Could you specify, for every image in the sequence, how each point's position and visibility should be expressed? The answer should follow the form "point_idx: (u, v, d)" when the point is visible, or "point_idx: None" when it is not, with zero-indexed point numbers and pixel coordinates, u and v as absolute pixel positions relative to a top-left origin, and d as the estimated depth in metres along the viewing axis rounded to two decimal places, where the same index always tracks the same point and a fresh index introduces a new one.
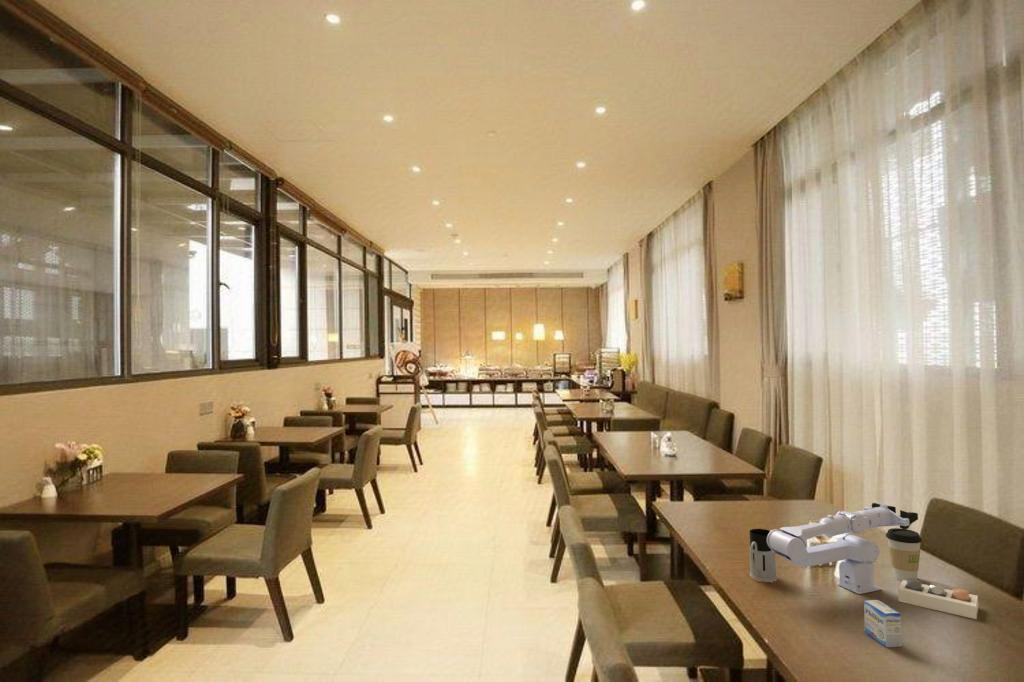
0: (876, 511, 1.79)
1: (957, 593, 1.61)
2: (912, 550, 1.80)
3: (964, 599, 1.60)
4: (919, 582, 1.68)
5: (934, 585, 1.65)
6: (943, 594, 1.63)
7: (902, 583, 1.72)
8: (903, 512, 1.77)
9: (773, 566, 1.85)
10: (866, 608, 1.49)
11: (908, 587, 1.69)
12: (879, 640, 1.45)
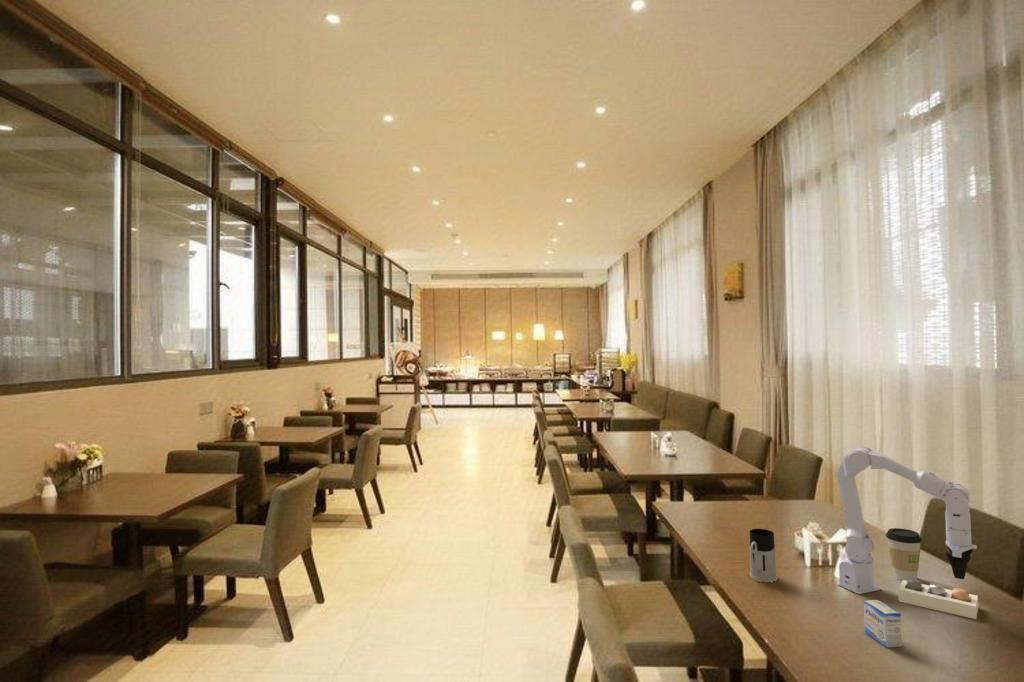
0: (968, 530, 1.59)
1: (957, 593, 1.61)
2: (912, 550, 1.80)
3: (964, 599, 1.60)
4: (919, 582, 1.68)
5: (934, 585, 1.65)
6: (943, 594, 1.63)
7: (902, 583, 1.72)
8: (968, 557, 1.57)
9: (773, 566, 1.85)
10: (866, 608, 1.49)
11: (908, 587, 1.69)
12: (879, 640, 1.45)
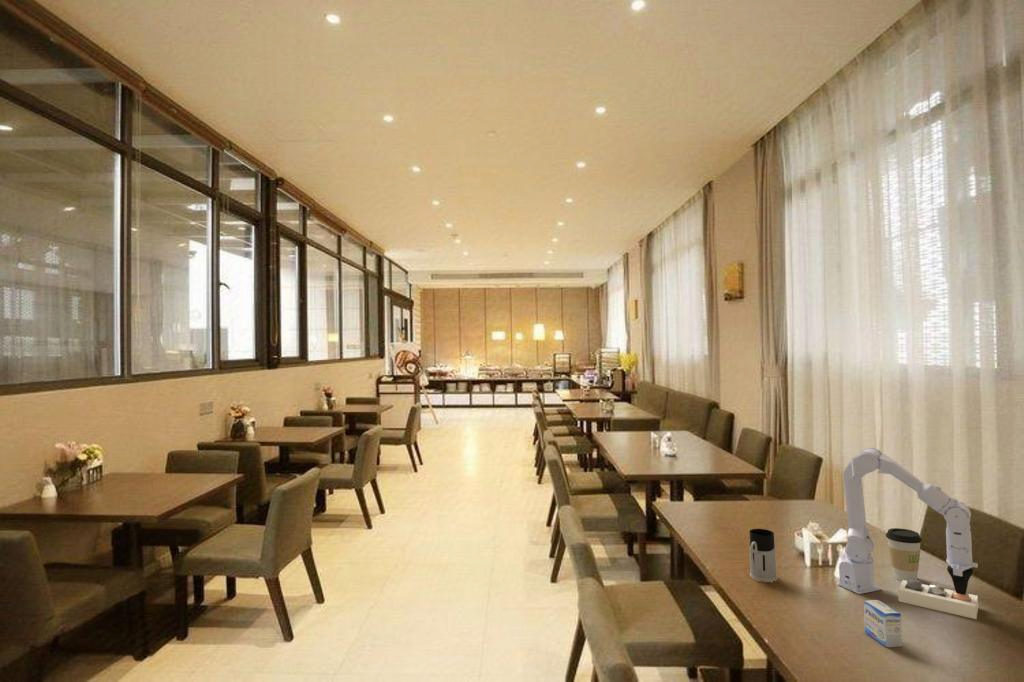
0: (969, 549, 1.59)
1: (957, 596, 1.61)
2: (912, 550, 1.80)
3: None
4: (919, 582, 1.68)
5: (934, 585, 1.65)
6: (943, 594, 1.63)
7: (902, 583, 1.72)
8: (970, 573, 1.59)
9: (773, 566, 1.85)
10: (866, 608, 1.49)
11: (908, 587, 1.69)
12: (879, 640, 1.45)
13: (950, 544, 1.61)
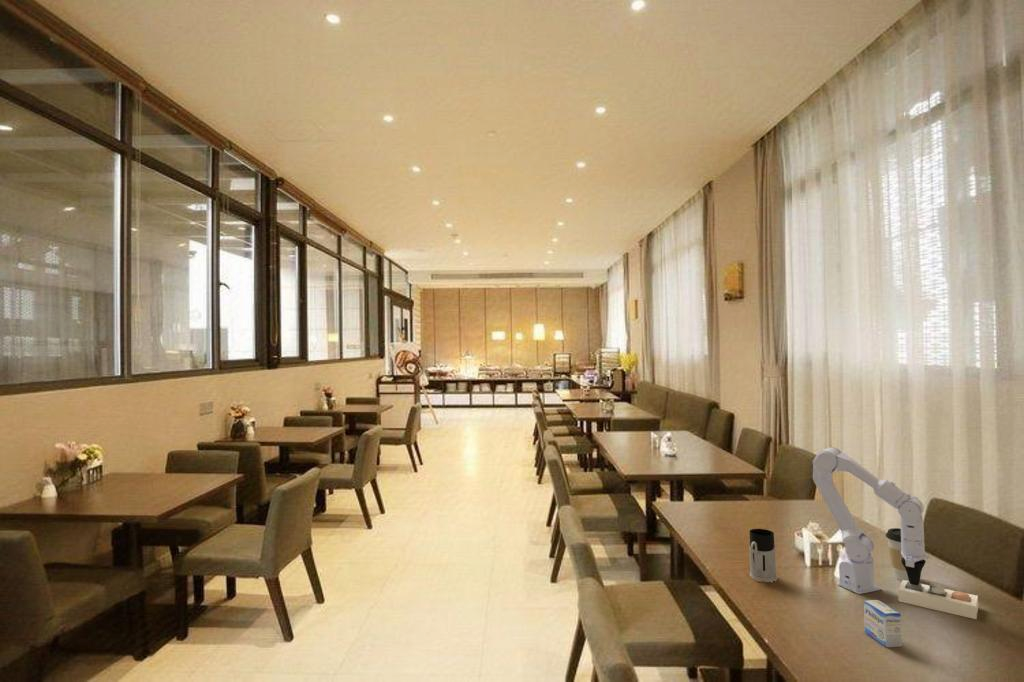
0: (921, 541, 1.66)
1: (957, 596, 1.61)
2: None
3: None
4: (919, 585, 1.68)
5: (934, 585, 1.65)
6: (943, 594, 1.63)
7: (902, 583, 1.72)
8: (922, 564, 1.66)
9: (773, 566, 1.85)
10: (866, 608, 1.49)
11: None
12: (879, 640, 1.45)
13: (904, 537, 1.69)
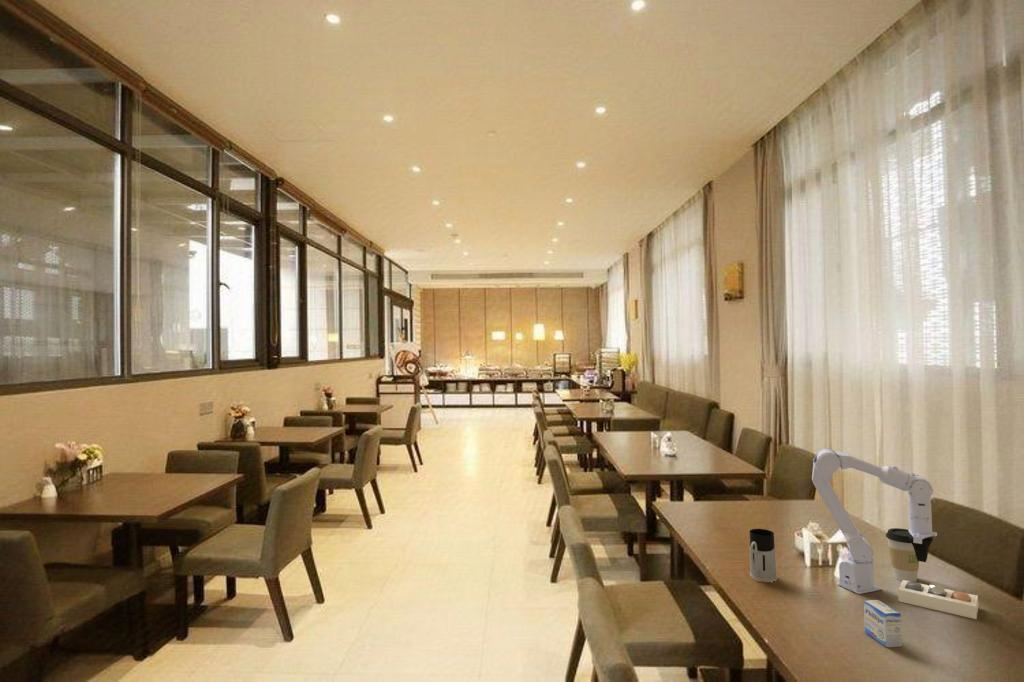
0: (929, 518, 1.69)
1: (957, 596, 1.61)
2: (912, 550, 1.80)
3: None
4: (919, 585, 1.68)
5: (934, 585, 1.65)
6: (943, 594, 1.63)
7: (902, 583, 1.72)
8: (929, 541, 1.69)
9: (773, 566, 1.85)
10: (866, 608, 1.49)
11: None
12: (879, 640, 1.45)
13: (914, 515, 1.71)
